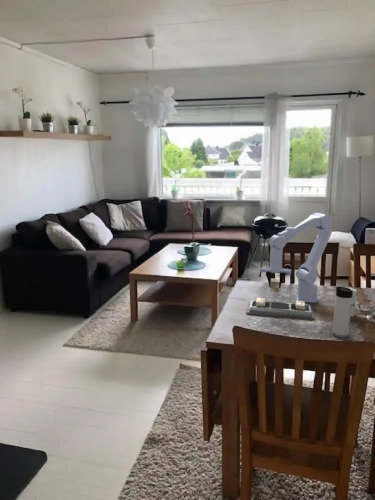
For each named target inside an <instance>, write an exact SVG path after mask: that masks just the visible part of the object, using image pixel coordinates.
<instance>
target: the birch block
mask: <svg viewBox="0 0 375 500" xmlns="http://www.w3.org/2000/svg"><path fill="white" fill-rule="evenodd" d="M279 281H280V278H272V277H271V287H269V289H270V290H269V292H271V293H279V292H280V288H279Z"/></svg>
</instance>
